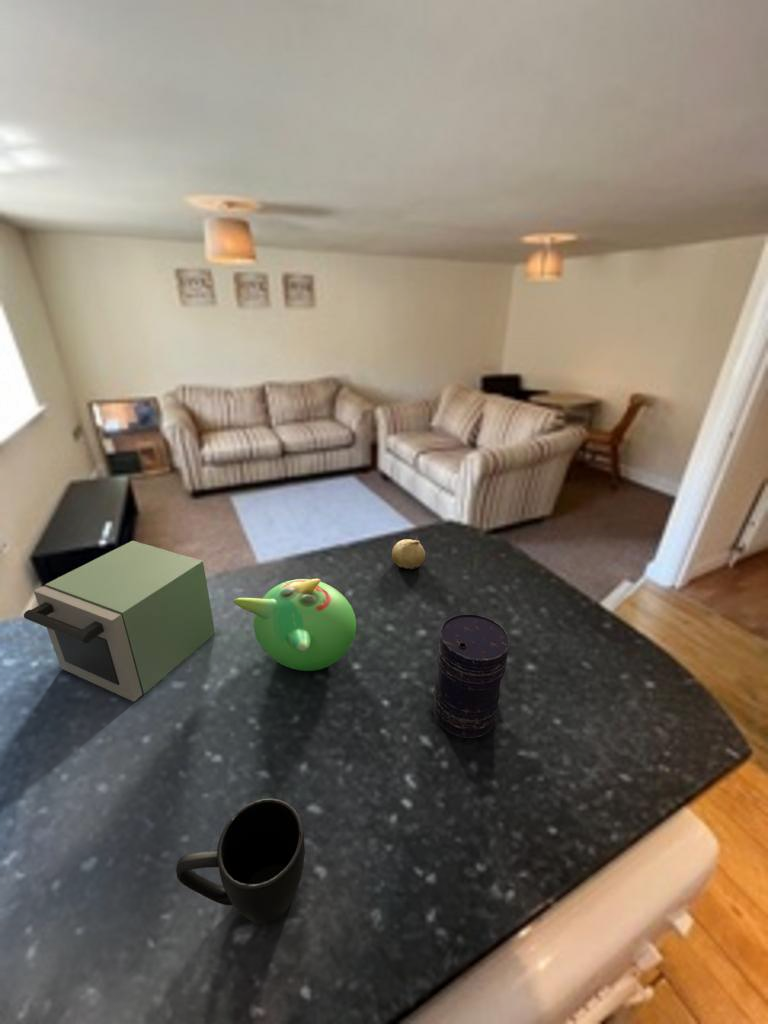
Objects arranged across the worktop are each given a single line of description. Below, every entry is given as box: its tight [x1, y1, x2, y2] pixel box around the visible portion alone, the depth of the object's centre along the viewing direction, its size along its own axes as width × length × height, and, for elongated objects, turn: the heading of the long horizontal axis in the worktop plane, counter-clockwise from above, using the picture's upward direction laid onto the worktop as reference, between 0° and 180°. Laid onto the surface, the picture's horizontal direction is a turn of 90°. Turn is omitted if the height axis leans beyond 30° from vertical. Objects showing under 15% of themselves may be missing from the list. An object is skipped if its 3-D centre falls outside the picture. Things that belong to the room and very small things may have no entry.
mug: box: [175, 798, 306, 926], centre depth 45 cm, size 8×12×10 cm
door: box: [23, 585, 143, 703], centre depth 69 cm, size 5×17×16 cm, turn 67°
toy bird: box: [233, 578, 357, 672], centre depth 77 cm, size 18×17×15 cm
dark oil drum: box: [432, 613, 510, 739], centre depth 67 cm, size 10×10×15 cm
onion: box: [391, 536, 426, 570], centre depth 107 cm, size 8×8×7 cm
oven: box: [44, 540, 216, 695], centre depth 77 cm, size 16×17×16 cm
